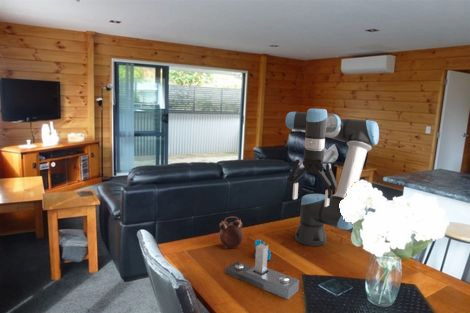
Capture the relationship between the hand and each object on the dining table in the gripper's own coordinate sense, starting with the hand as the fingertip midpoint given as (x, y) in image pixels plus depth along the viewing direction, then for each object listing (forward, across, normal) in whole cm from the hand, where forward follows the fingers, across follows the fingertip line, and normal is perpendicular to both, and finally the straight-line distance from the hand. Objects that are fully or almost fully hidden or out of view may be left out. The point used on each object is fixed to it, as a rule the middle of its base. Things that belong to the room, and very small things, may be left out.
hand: (310, 202), depth 137 cm
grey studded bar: (+28, -9, -20) cm, 36 cm away
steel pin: (+28, -9, -20) cm, 36 cm away
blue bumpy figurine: (+29, -19, -2) cm, 35 cm away
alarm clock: (+29, -36, -4) cm, 46 cm away
